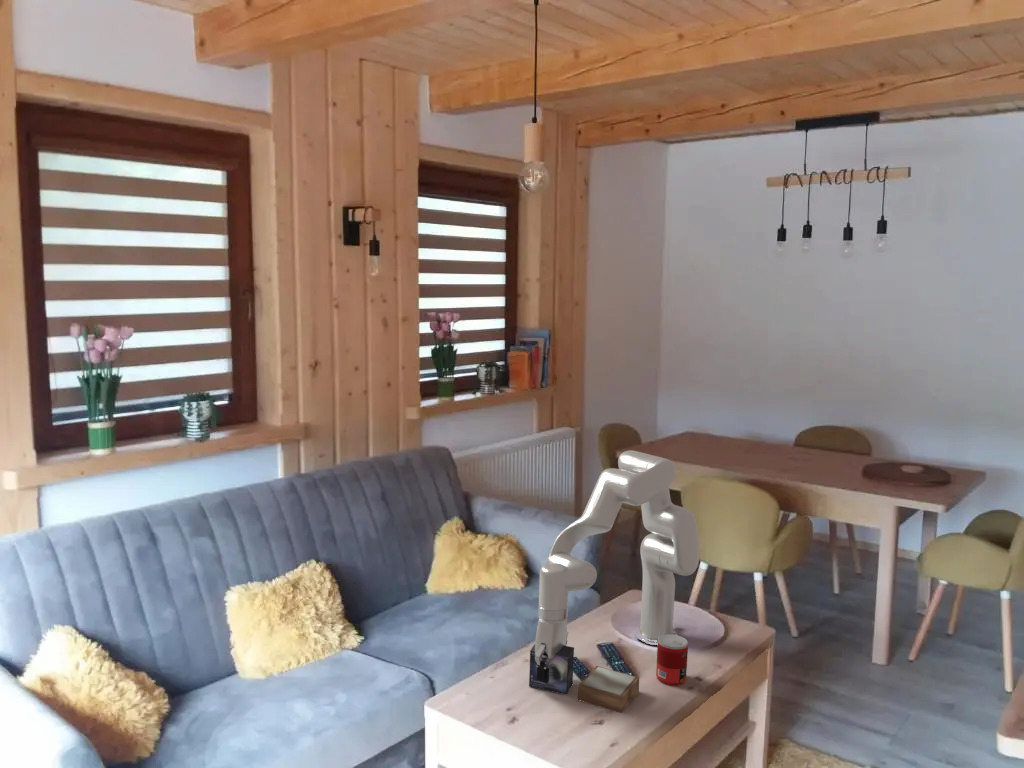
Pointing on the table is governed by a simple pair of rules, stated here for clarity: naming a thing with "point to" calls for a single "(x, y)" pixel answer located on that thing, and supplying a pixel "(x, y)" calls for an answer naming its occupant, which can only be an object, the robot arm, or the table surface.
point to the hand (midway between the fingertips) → (551, 673)
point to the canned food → (672, 659)
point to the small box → (554, 671)
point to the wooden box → (608, 689)
